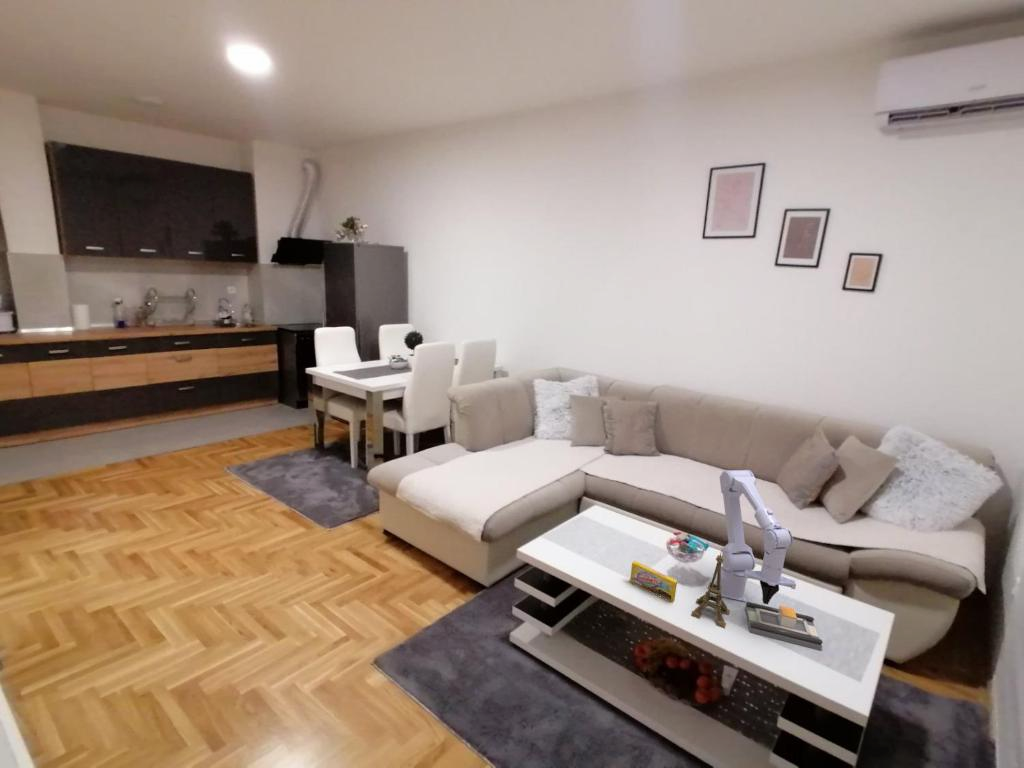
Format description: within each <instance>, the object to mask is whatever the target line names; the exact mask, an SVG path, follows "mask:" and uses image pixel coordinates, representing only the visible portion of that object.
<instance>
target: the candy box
mask: <svg viewBox="0 0 1024 768" xmlns="http://www.w3.org/2000/svg"><path fill="white" fill-rule="evenodd" d="M629 582H630V583H632V584H633V585H635V584H636V585H635V586H637V585H638V586H637V587H639V586H640V587H639V588H641V587H642V588H641V589H643V588H644V589H643V590H645V589H646V590H645V591H647V590H648V591H647V592H649V591H651V592H653V593H655V594H657V595H659V596H661V597H662V598H661V597H660V598H661V599H663V598H664V600H665V599H667V600H669V601H671V602H673V603H674V602H675V600H676V592H677V585H678V579H675V578H673V577H671V576H668V575H666V574H664V573H663V572H660V571H658V570H656V569H654V568H652V567H650V566H647V565H645V564H642V563H641V562H639V561H637V560H634V561H632V562H631V569H630V579H629ZM651 592H650V593H651ZM653 593H652V594H653ZM655 594H654V595H655ZM657 595H656V596H657ZM659 596H658V597H659ZM667 600H666V601H667ZM669 601H668V602H669ZM671 602H670V603H671Z"/></svg>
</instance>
